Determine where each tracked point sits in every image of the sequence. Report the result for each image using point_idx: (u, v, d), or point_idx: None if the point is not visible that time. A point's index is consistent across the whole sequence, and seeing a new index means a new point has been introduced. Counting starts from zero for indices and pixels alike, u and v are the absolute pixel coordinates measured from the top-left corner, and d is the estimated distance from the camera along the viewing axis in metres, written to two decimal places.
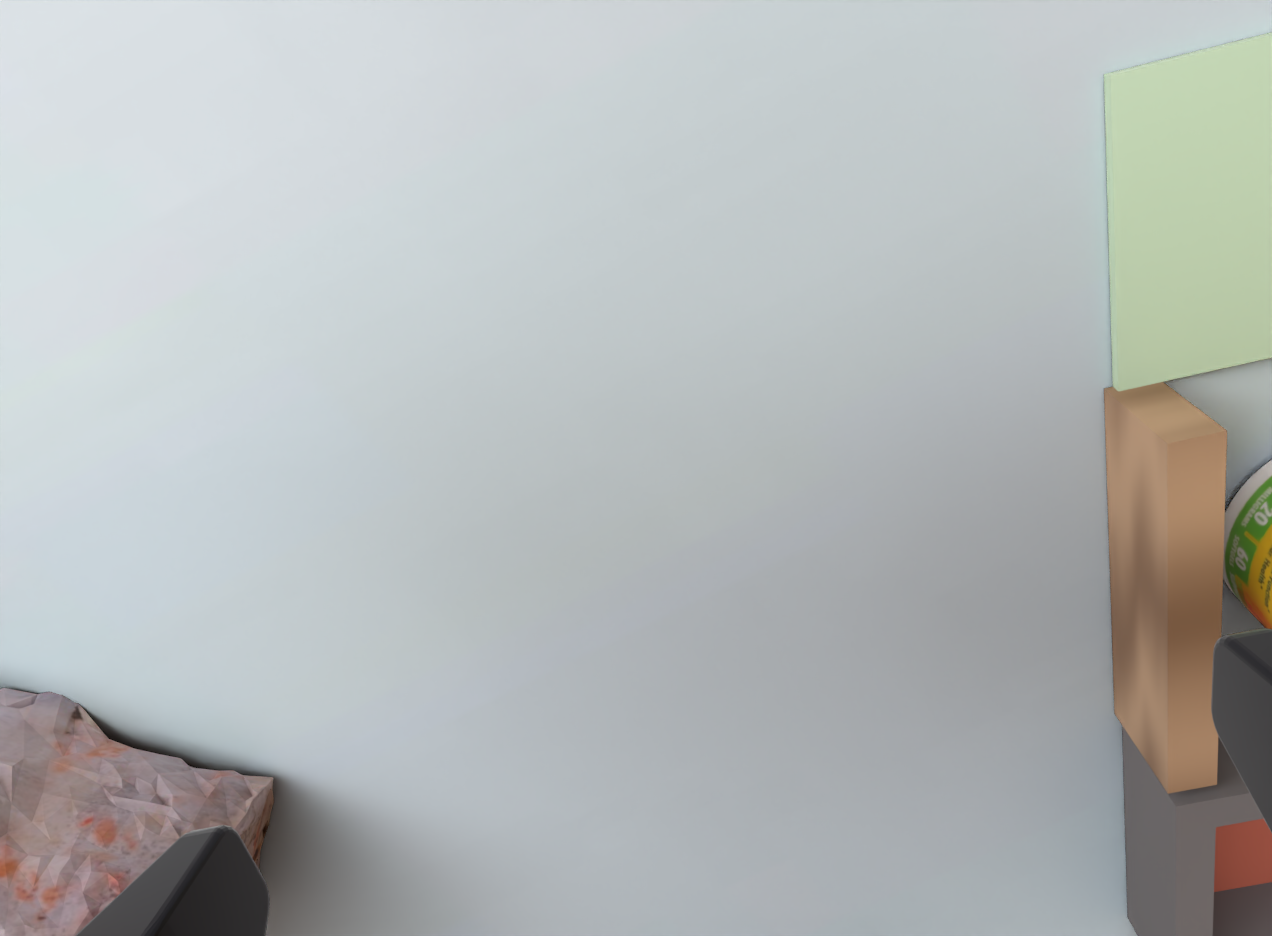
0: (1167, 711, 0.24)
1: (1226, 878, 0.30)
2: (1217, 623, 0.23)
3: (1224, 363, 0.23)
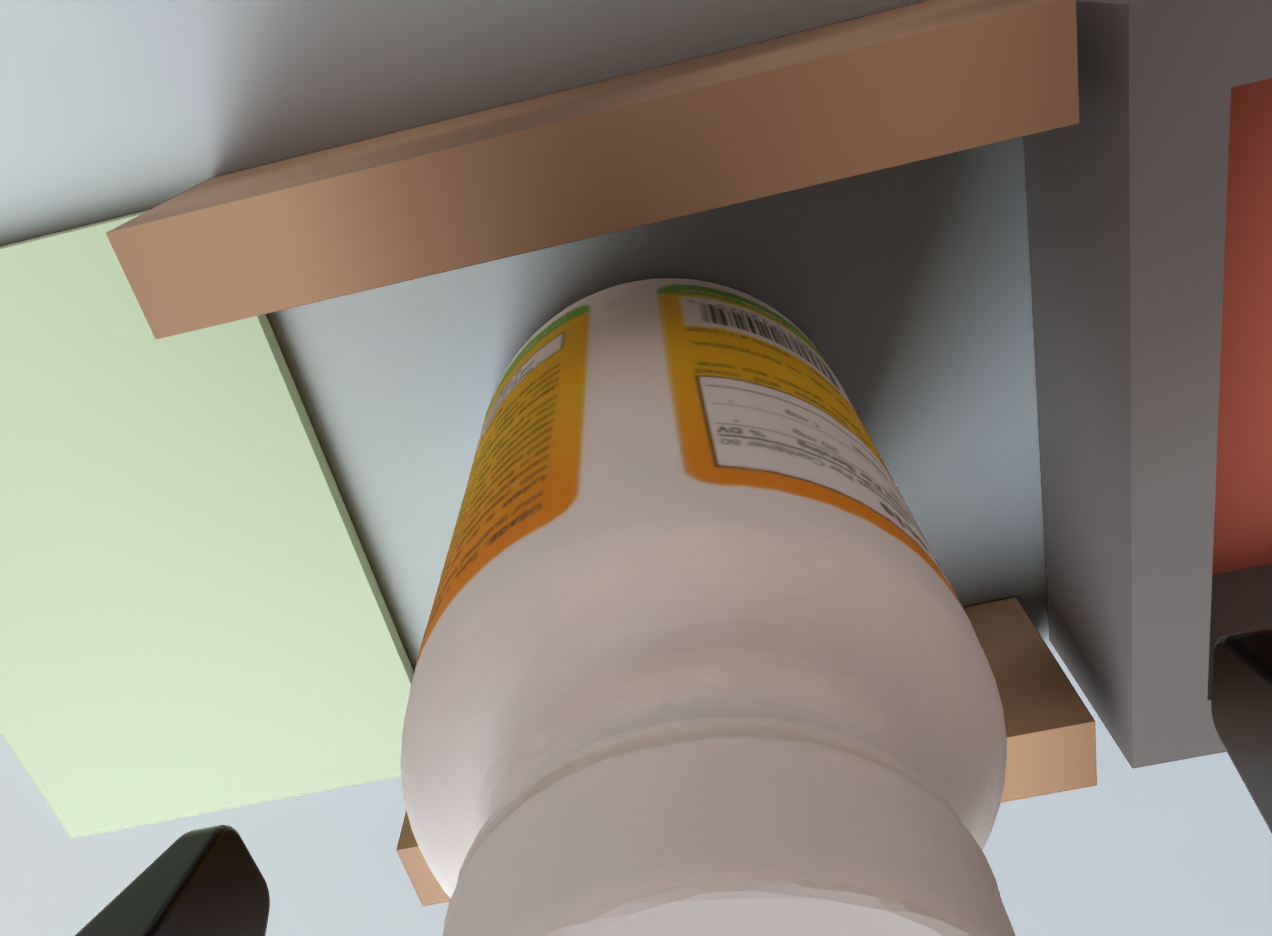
0: None
1: None
2: None
3: (393, 662, 0.16)
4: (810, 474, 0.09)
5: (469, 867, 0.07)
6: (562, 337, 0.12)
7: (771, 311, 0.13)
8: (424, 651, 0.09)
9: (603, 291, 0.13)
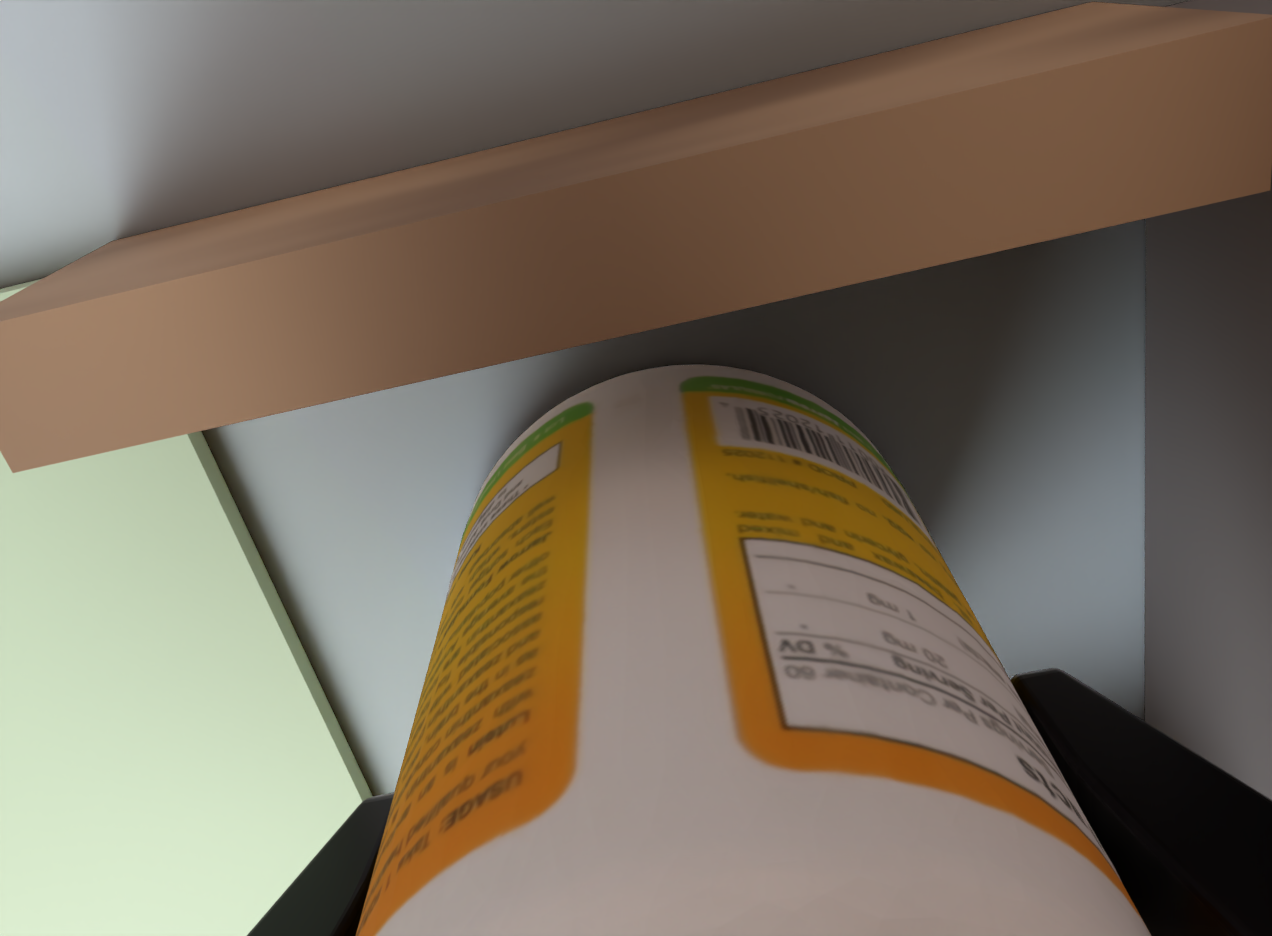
0: None
1: None
2: None
3: None
4: (922, 732, 0.06)
5: None
6: (558, 450, 0.10)
7: (823, 409, 0.10)
8: None
9: (610, 382, 0.11)
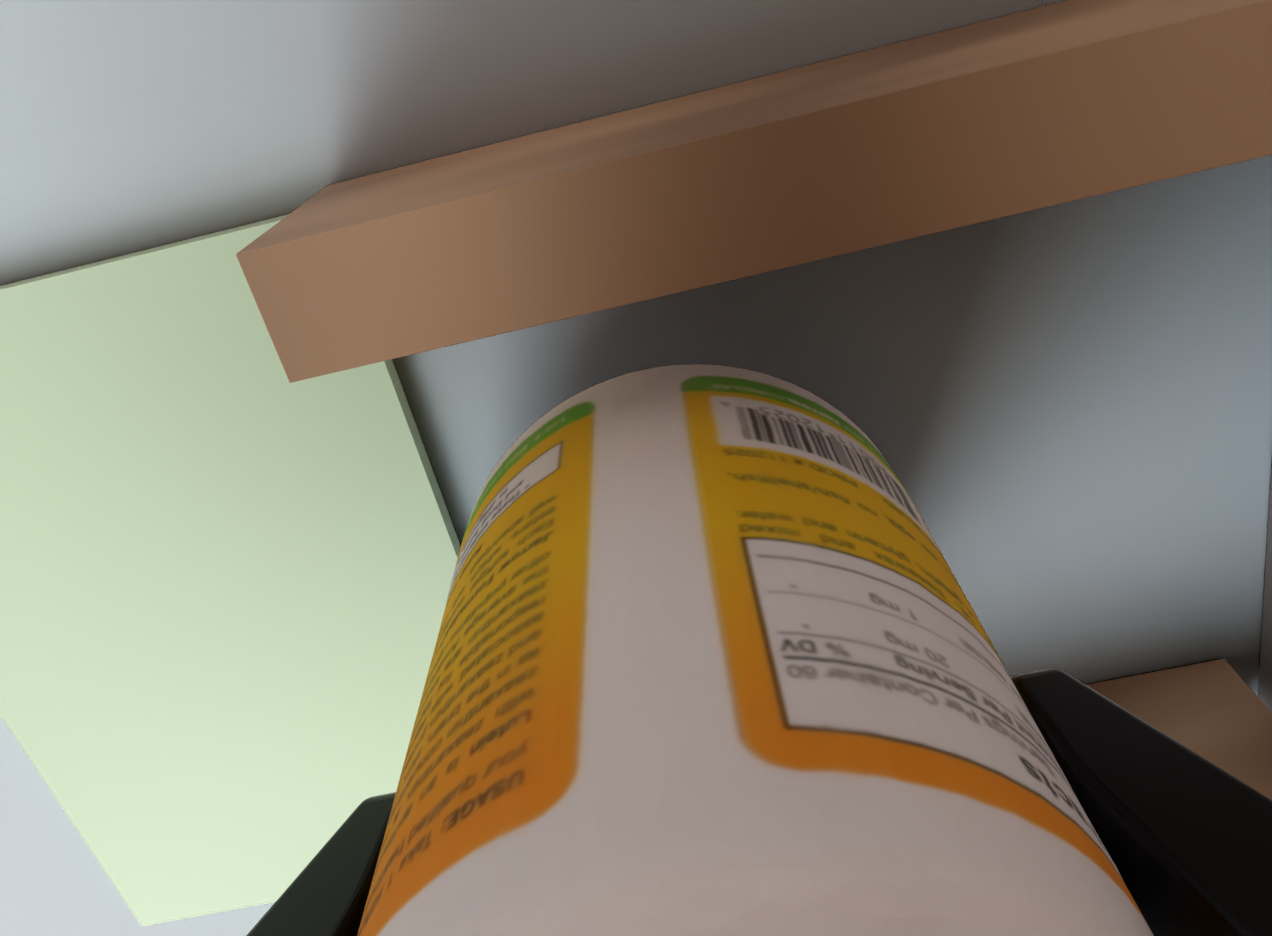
0: None
1: None
2: None
3: None
4: (923, 732, 0.06)
5: None
6: (559, 450, 0.10)
7: (824, 408, 0.10)
8: None
9: (611, 382, 0.11)
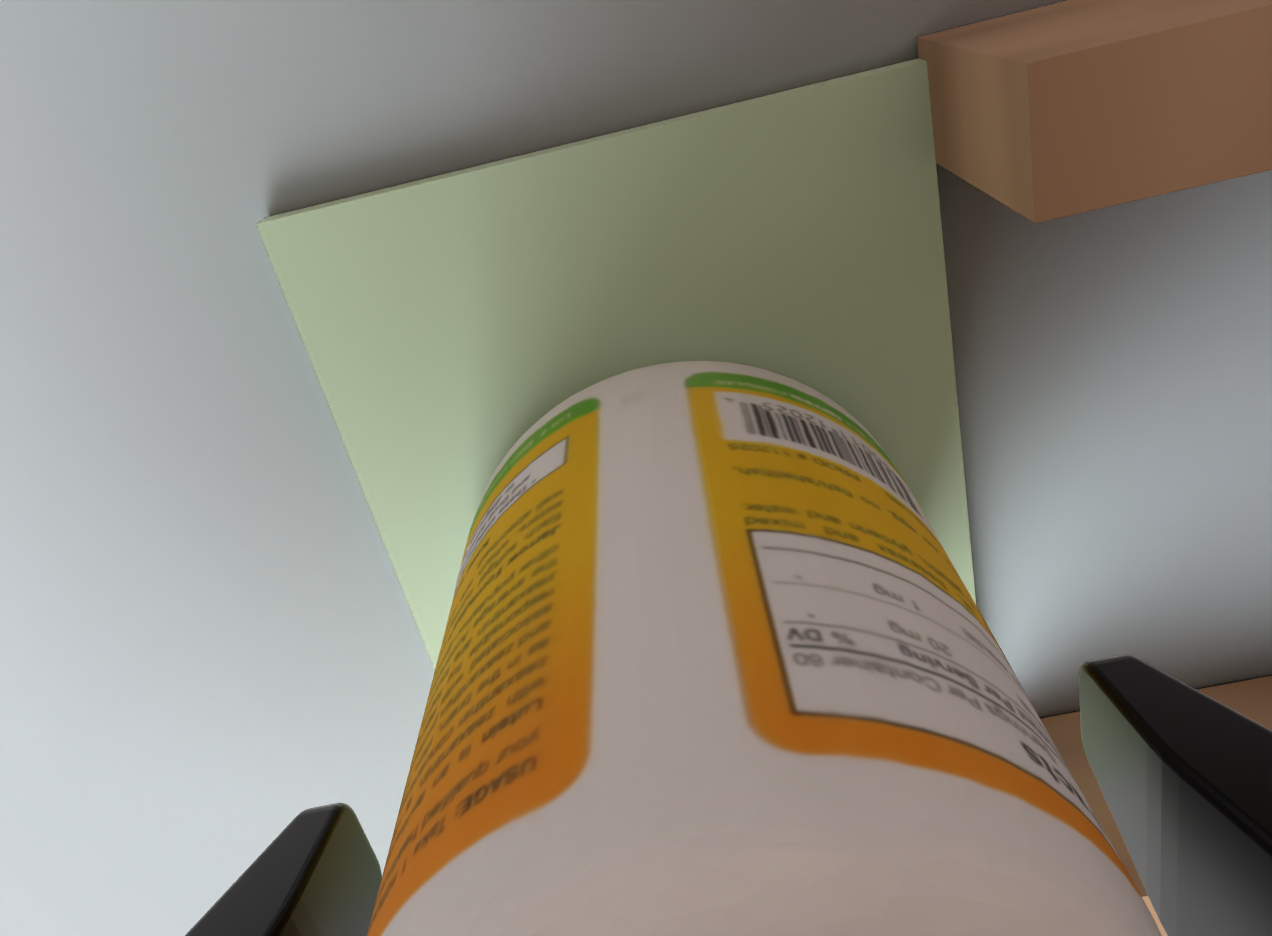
0: None
1: None
2: None
3: None
4: (929, 719, 0.06)
5: None
6: (565, 445, 0.10)
7: (826, 404, 0.11)
8: None
9: (616, 378, 0.11)
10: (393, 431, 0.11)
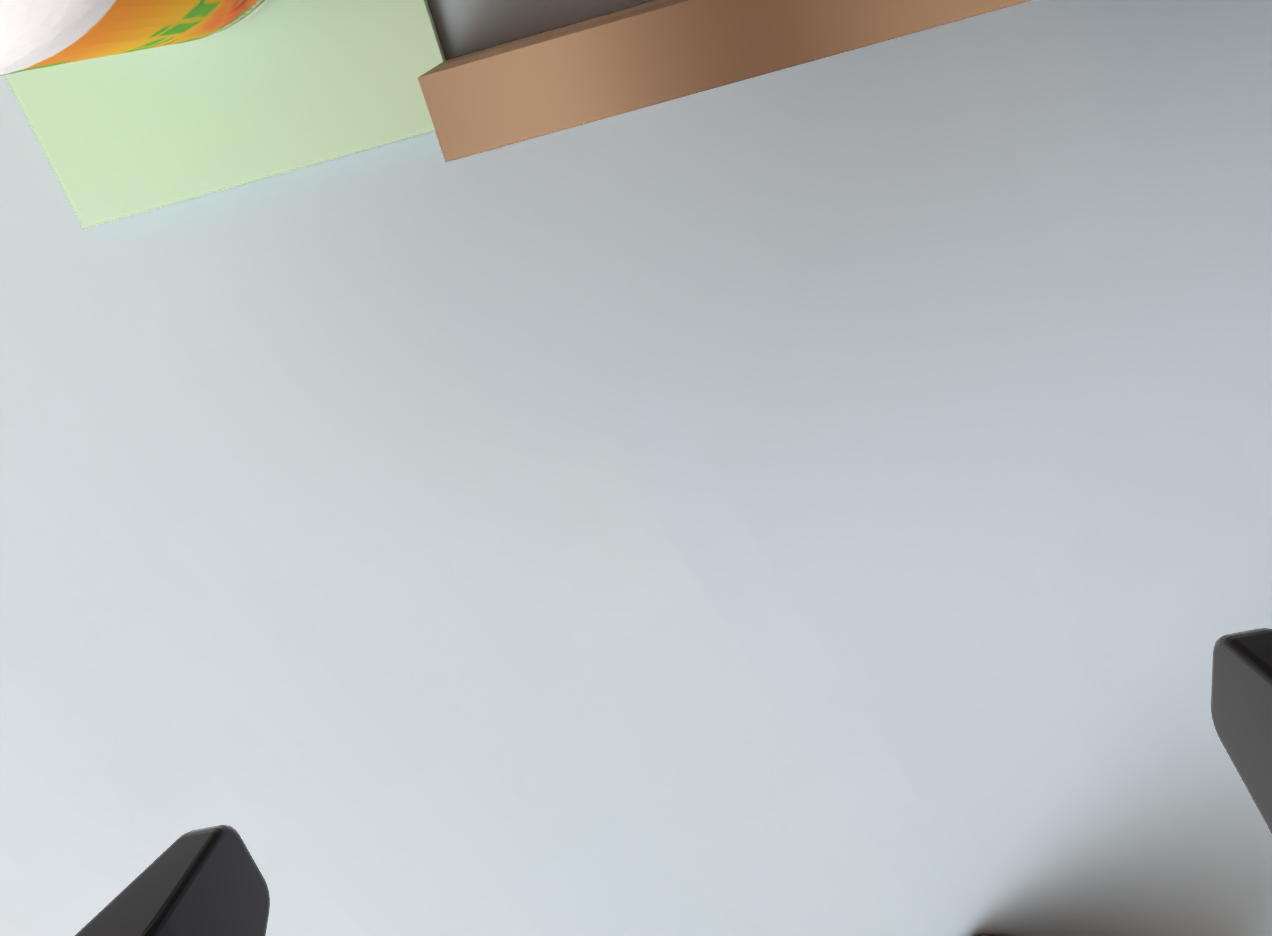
0: (939, 25, 0.14)
1: None
2: None
3: None
4: None
5: None
6: None
7: None
8: None
9: None
10: None
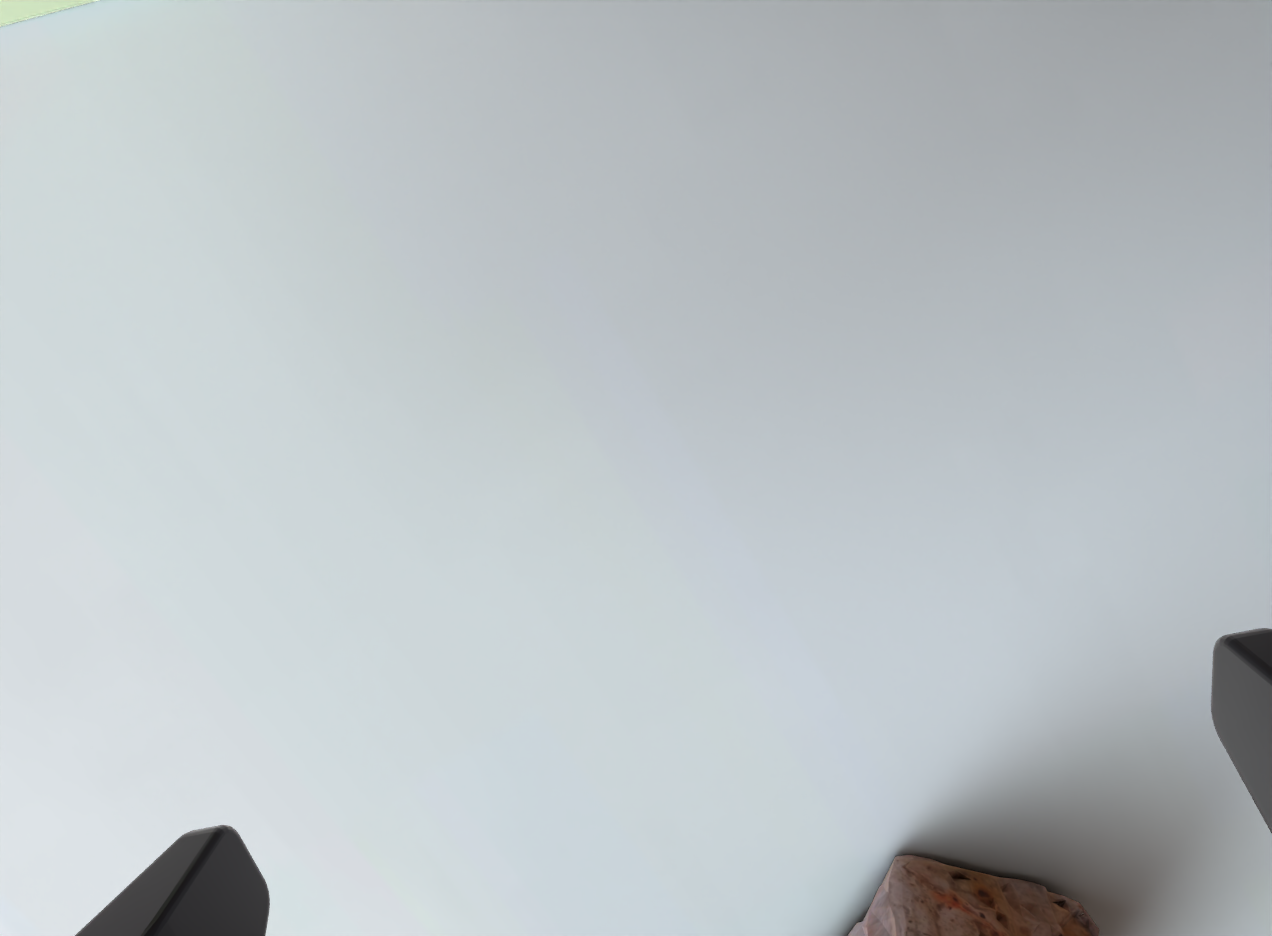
0: None
1: None
2: None
3: None
4: None
5: None
6: None
7: None
8: None
9: None
10: None
